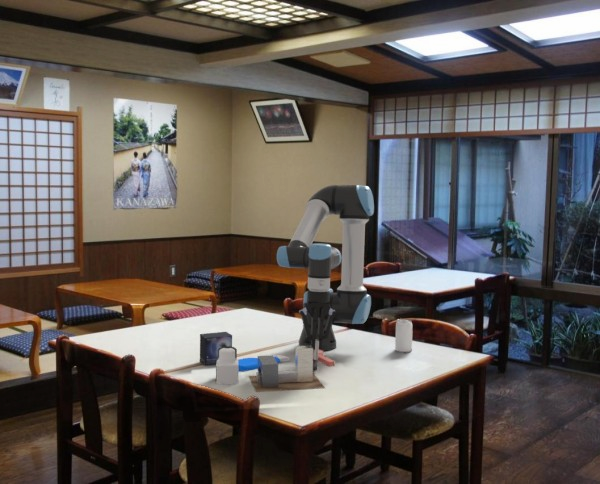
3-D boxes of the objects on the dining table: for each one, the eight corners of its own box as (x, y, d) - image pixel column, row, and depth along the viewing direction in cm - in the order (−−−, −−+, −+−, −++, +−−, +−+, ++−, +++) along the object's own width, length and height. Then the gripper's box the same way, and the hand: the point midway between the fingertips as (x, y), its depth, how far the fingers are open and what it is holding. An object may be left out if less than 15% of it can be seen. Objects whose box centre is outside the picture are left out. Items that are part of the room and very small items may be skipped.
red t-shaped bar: (299, 355, 240) (299, 346, 239) (317, 353, 243) (317, 344, 242) (322, 368, 224) (322, 358, 224) (341, 365, 227) (341, 356, 226)
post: (307, 371, 240) (308, 356, 239) (316, 370, 240) (316, 356, 240) (309, 373, 237) (309, 358, 236) (318, 373, 237) (318, 358, 237)
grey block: (257, 378, 227) (257, 356, 226) (272, 377, 228) (272, 355, 227) (262, 388, 216) (262, 364, 215) (278, 387, 217) (278, 364, 216)
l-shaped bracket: (256, 381, 223) (256, 347, 222) (310, 378, 227) (310, 345, 226) (257, 384, 219) (257, 350, 219) (312, 381, 223) (312, 348, 222)
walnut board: (248, 378, 230) (248, 375, 230) (312, 375, 234) (312, 372, 234) (256, 395, 212) (256, 391, 212) (325, 391, 217) (325, 388, 217)
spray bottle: (244, 367, 234) (295, 356, 252) (224, 361, 242) (275, 350, 260) (244, 375, 235) (295, 364, 252) (224, 369, 242) (275, 358, 260)
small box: (205, 366, 245) (205, 337, 244) (199, 362, 251) (199, 333, 250) (232, 363, 250) (232, 334, 249) (226, 358, 256) (226, 331, 255)
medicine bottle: (216, 380, 228) (216, 345, 226) (238, 380, 228) (238, 344, 227) (216, 387, 220) (215, 350, 219) (238, 386, 221) (238, 350, 220)
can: (411, 352, 267) (412, 322, 265) (394, 351, 268) (395, 321, 267) (412, 348, 273) (412, 319, 272) (395, 348, 274) (396, 318, 273)
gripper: (302, 291, 225) (299, 362, 227) (339, 291, 228) (336, 361, 229) (297, 288, 232) (295, 356, 234) (334, 288, 235) (331, 356, 237)
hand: (315, 359), depth 232 cm, fingers closed
